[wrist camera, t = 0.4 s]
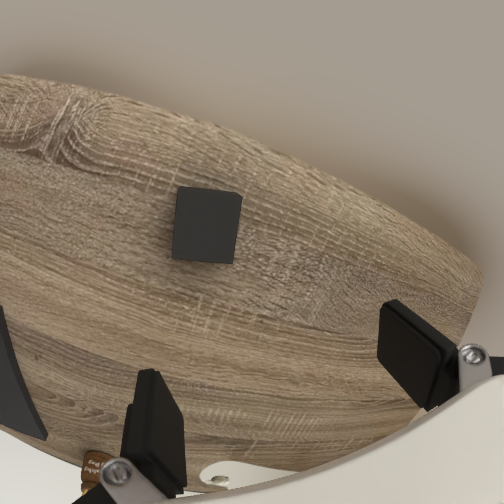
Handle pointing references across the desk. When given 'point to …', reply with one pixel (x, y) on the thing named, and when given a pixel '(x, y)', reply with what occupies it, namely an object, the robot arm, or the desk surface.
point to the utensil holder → (92, 469)
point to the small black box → (206, 225)
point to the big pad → (15, 392)
